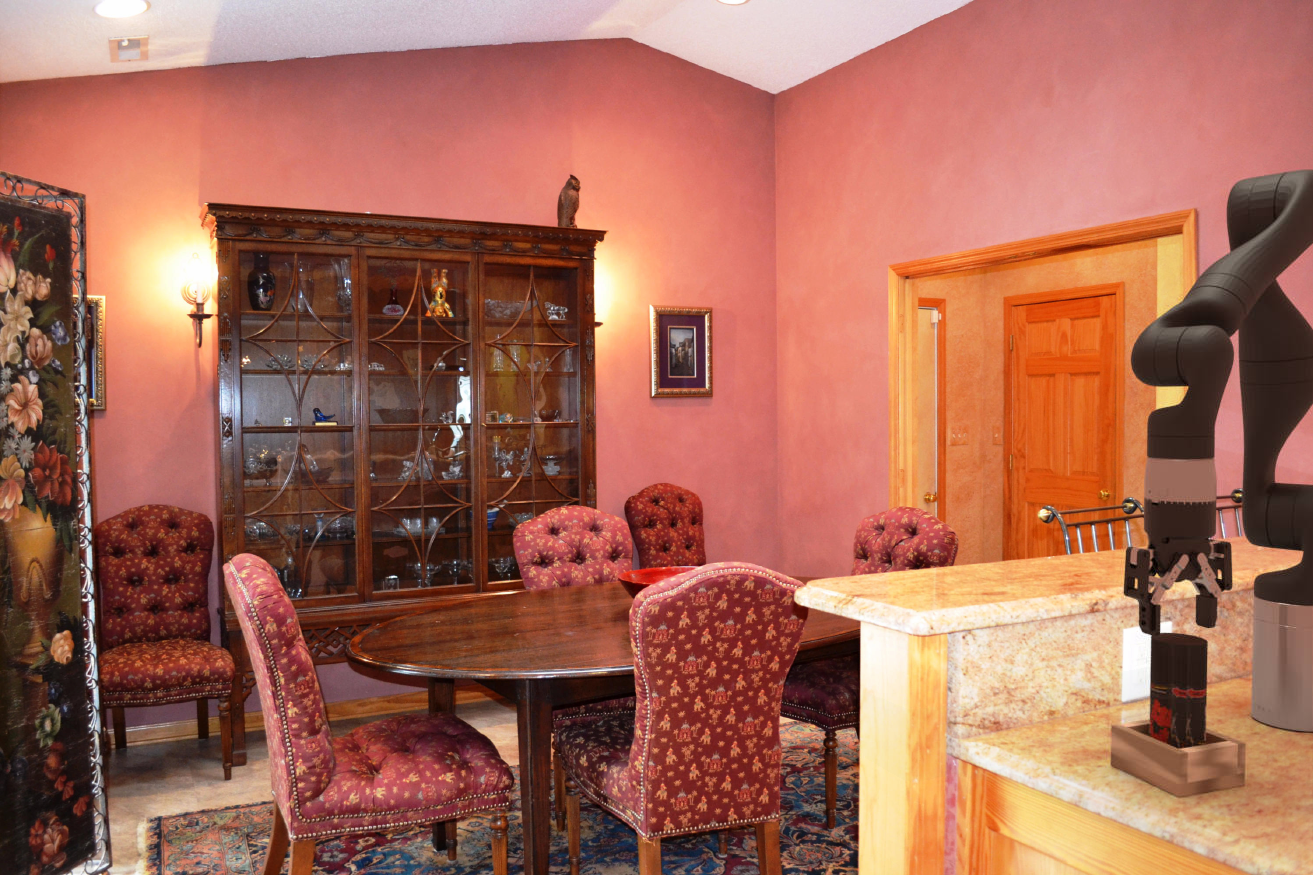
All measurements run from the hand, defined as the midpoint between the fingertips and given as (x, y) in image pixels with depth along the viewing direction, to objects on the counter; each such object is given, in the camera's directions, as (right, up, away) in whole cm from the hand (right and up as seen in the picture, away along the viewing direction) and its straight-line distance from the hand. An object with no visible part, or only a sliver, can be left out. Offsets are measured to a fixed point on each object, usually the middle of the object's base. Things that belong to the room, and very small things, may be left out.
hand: (1178, 630), depth 113 cm
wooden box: (0, -18, +1) cm, 18 cm away
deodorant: (0, -16, +1) cm, 16 cm away
